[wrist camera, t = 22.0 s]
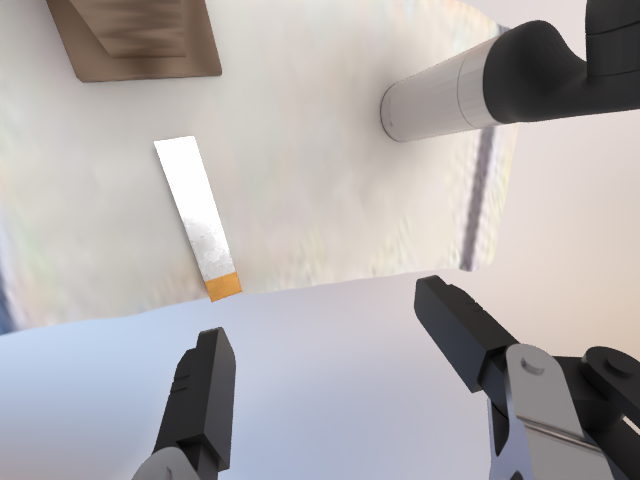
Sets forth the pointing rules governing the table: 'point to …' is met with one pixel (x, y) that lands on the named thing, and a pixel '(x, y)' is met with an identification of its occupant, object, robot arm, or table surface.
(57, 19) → the tall stand
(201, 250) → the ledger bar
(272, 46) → the table surface
